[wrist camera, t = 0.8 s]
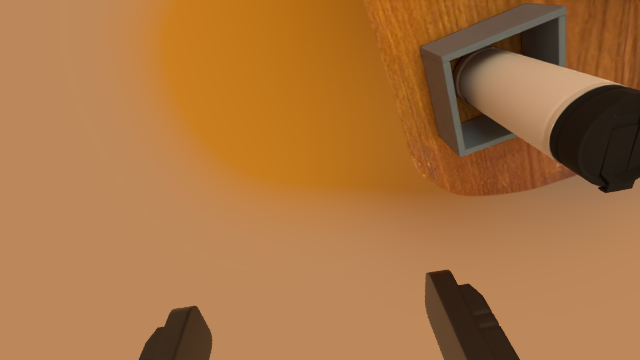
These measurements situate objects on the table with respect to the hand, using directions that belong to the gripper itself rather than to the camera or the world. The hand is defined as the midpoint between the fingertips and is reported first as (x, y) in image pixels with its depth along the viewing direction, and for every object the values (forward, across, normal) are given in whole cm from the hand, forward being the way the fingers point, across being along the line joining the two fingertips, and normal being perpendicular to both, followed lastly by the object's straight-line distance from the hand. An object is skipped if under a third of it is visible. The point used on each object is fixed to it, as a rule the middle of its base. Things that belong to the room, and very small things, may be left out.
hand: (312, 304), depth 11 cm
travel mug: (+30, -20, +3) cm, 36 cm away
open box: (+30, -20, +3) cm, 36 cm away
